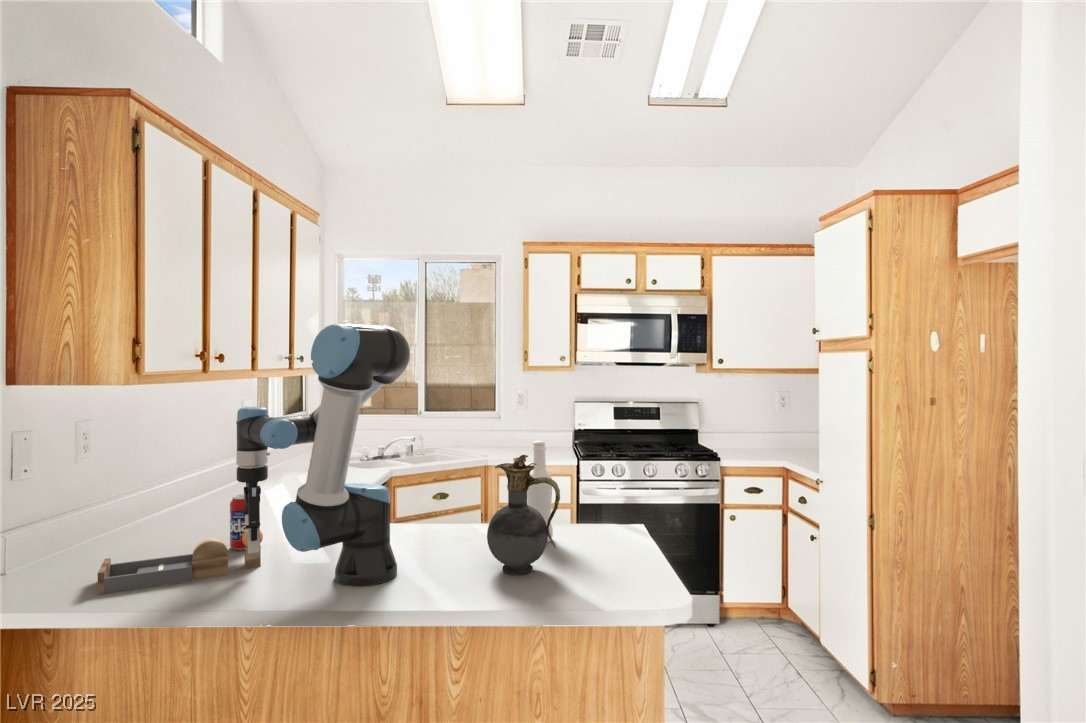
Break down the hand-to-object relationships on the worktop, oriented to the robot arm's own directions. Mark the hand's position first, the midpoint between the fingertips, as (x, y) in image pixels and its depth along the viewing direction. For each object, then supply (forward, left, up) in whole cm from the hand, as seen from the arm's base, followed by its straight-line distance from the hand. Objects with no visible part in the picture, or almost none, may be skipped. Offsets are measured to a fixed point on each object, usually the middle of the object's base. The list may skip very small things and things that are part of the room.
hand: (251, 545), depth 168 cm
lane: (0, +23, -5) cm, 23 cm away
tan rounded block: (0, +10, -5) cm, 11 cm away
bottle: (-15, -78, -6) cm, 80 cm away
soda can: (+18, +1, -6) cm, 19 cm away
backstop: (0, +32, -5) cm, 33 cm away
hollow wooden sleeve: (0, 0, -5) cm, 5 cm away
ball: (0, 0, +2) cm, 2 cm away
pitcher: (-37, -62, -6) cm, 73 cm away
